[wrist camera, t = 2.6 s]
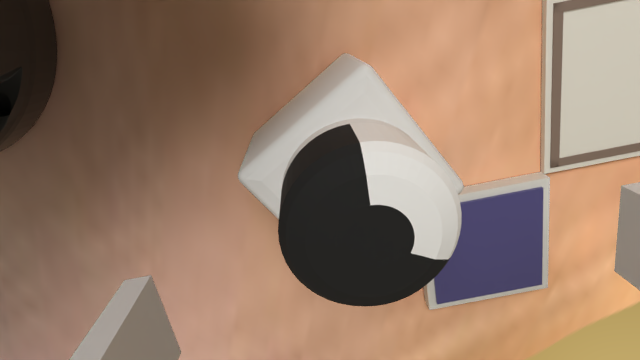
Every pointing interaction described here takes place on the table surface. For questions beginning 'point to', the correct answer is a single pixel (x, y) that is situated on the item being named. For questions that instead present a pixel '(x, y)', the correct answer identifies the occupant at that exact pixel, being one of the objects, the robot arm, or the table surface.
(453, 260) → the ink pad
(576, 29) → the print card
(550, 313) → the table surface
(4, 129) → the robot arm
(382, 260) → the medicine bottle
